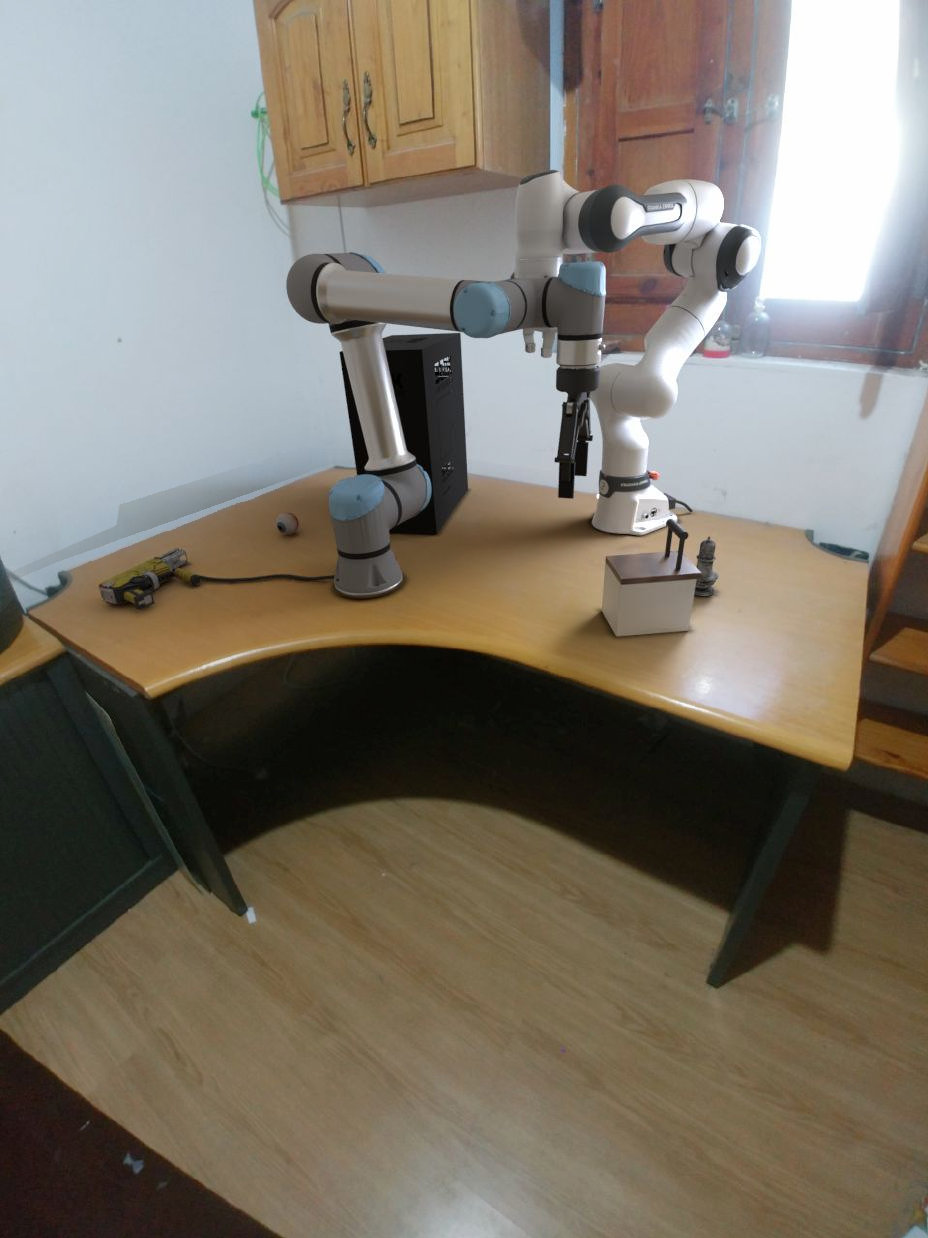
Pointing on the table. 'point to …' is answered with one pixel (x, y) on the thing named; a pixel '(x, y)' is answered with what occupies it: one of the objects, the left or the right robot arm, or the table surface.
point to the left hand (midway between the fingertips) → (573, 486)
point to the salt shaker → (706, 568)
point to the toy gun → (146, 580)
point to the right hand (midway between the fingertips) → (538, 354)
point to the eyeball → (287, 523)
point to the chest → (647, 605)
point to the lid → (655, 562)
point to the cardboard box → (424, 419)
